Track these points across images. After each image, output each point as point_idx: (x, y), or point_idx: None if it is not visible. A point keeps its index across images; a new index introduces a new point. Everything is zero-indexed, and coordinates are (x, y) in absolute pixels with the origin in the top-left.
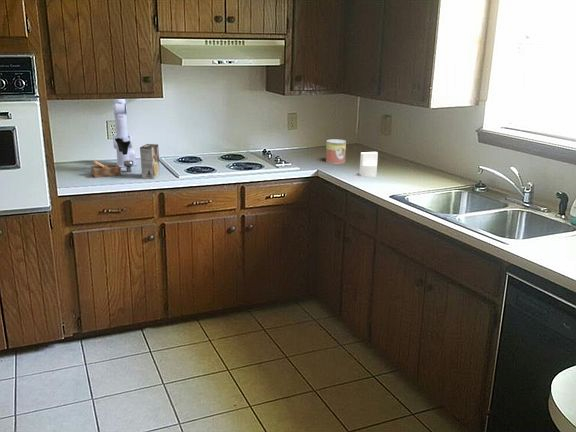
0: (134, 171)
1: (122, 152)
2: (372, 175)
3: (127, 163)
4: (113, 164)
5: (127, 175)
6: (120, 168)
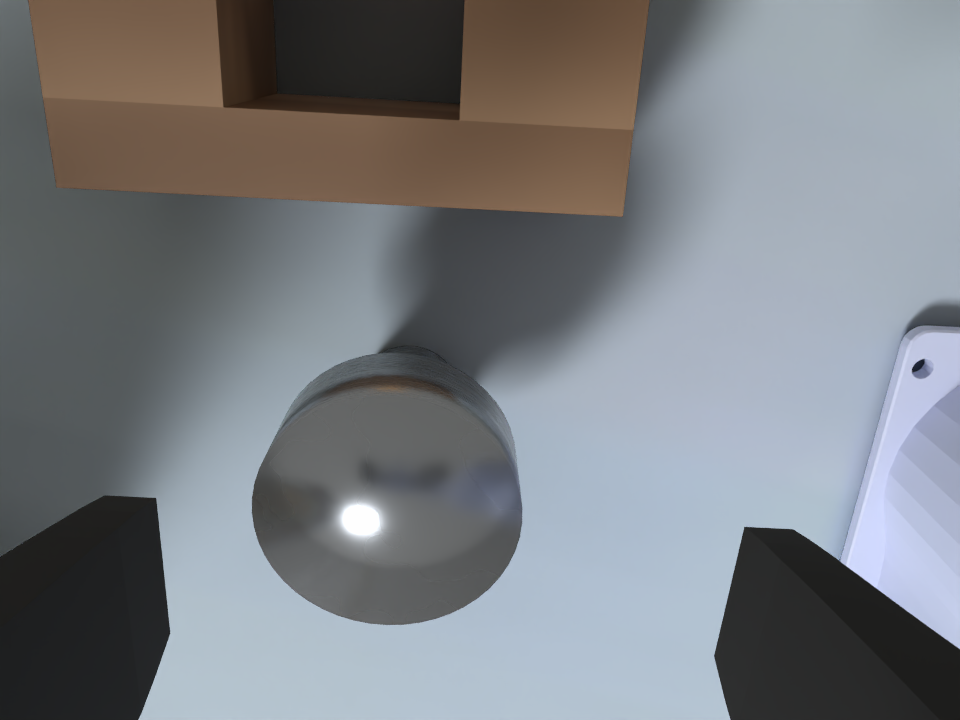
0: None
1: (34, 536)
2: None
3: (269, 448)
4: (566, 117)
5: (94, 275)
6: (64, 176)
